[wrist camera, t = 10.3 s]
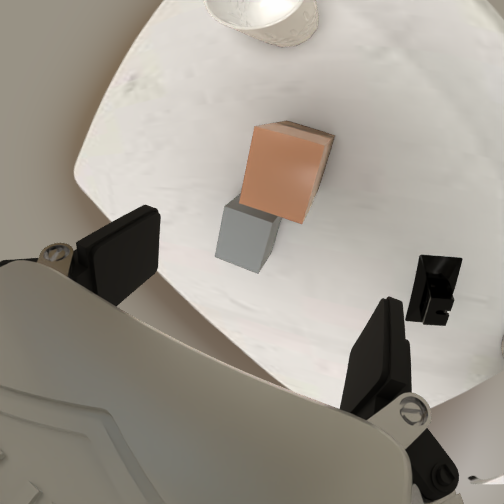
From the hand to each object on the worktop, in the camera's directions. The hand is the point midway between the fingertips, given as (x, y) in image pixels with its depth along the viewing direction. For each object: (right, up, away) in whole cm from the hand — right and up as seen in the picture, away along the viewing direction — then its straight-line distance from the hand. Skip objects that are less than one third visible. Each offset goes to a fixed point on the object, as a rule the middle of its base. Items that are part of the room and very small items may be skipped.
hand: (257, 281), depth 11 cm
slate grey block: (0, +4, +23) cm, 23 cm away
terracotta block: (+3, +9, +13) cm, 16 cm away
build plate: (+21, -3, +20) cm, 29 cm away
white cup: (+3, +24, +11) cm, 27 cm away
